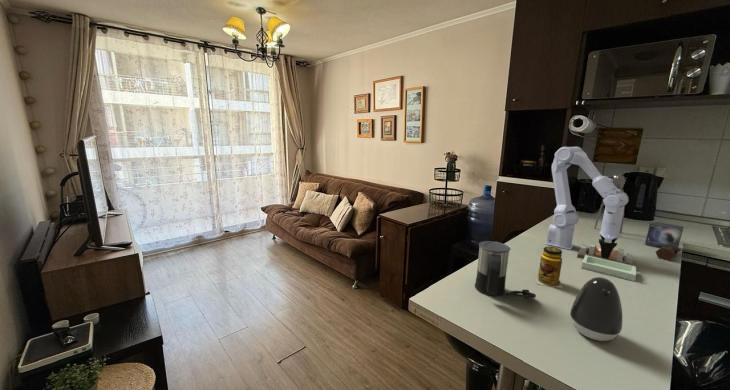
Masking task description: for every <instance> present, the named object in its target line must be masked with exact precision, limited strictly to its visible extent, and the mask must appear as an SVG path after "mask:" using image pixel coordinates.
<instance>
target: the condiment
mask: <svg viewBox="0 0 730 390" xmlns="http://www.w3.org/2000/svg"><path fill="white" fill-rule="evenodd" d="M562 254H563V250H562V248H561V249H560V247H556V246H550V245H548V246H544V247H543V251H542V254H541V255H540V262H539V269H538V273H535V272H534V273H533V274H534V277H535V280H536V283H537V285H541V286H545V287H551V288H559V289H564V286H563V285H562V283H561V281H560V276H561V270H562V265H563V264H562V263H563V258H562Z"/></svg>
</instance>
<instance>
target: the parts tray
mask: <svg viewBox="0 0 730 390" xmlns="http://www.w3.org/2000/svg"><path fill="white" fill-rule="evenodd" d="M581 269H583V270H584V269H585V270H587V271H592V272H596V273H600V274H604V275H608V276H611V277H614V278H618V279H623V280H628V281H632V282H636V278H637V277H636V276H637V266H634V265H633V266H631V265H627V264H622V263H618V262H614V261H609V260H605V259H601V258H596V257H592V256H587V255H585V257H584V259H582V264H581Z"/></svg>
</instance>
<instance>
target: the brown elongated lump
mask: <svg viewBox="0 0 730 390" xmlns="http://www.w3.org/2000/svg"><path fill="white" fill-rule="evenodd" d="M680 252H681V250H680V248H679V246H678V247H677V246H676V245H673V244H668V245H666V246H665V247H661V248H658V249H657V250H656V251H655V254H656V256H657V258H658V259H659V260H662V259H663V261H666V260H667V261H669V262H670V261H672V260H673V259H674V258H675V257H676V255H677V254H678V253H680Z"/></svg>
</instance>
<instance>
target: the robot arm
mask: <svg viewBox="0 0 730 390" xmlns="http://www.w3.org/2000/svg"><path fill="white" fill-rule="evenodd" d="M552 161H553V162H552V164H551V174H552V181H553V187H554V195H555V202H556V207H555V208H554V211H553V213H554V214H553V218H552V222H553V223H554V224H549V226H548V231H547V236H546V243H545V245H548V246H550V247H556V248H559V249H560V248H561V249H566V250H570V251H571V250H572V248H573V247H574V243H573V238H574V232H575V224H578V223H579V220H580V217H579V214H578V213H577V211H576V208H575V206H574V205H573V204H572V199H571V191H570V186H569V178H568V172H567V169H569V167H570V166H571V165H576V166H579V167H580V168H581V170H583V171H584V173H586V175H587V176H588V177H589V178H590V179H591V180H592V183H591V184H592V185H591V186H592V187H594V189H595V190H596V192H598V194H599V195H600V196H601V197H602V198H603V199H602V202H604V206H605V207H604V212H603V217H602V222H601V226H600V227H601V228H600V231H599V234H600V235H599V236H600V238H598V244H599V247H601V257H602V258H607V259H608V258H609V256H610V254H611V252H612V250H615V248H616V247H617V246H618V243H617V242H616V241H618V239H619V238H621V239H622V238H623V236H624V235H623V234H621V233H620V227H621V223H622V218H623V212H624V213H625V206H626V205H627V204H628V203H629V201H630V200H629V196H628V194H627V193H626V192H620V191H621V190H620V189H618V188H617V187H616V186H615V185H614V184H613V183H612V181H613V180H612V179H613V178H611V177H608V176H606V175H602V174H601V173H600V171H599V170H598V169H597V167H596V166H595V164H594V163H593V162H592V160H590V159H589V156H588V155H587V153H586V152H585V151H584V150H583V149H582V148H581V147H580V146H562V147H560V148H559V149H557V151H555V153H554V158H553V160H552ZM622 206H623V207H622Z"/></svg>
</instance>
